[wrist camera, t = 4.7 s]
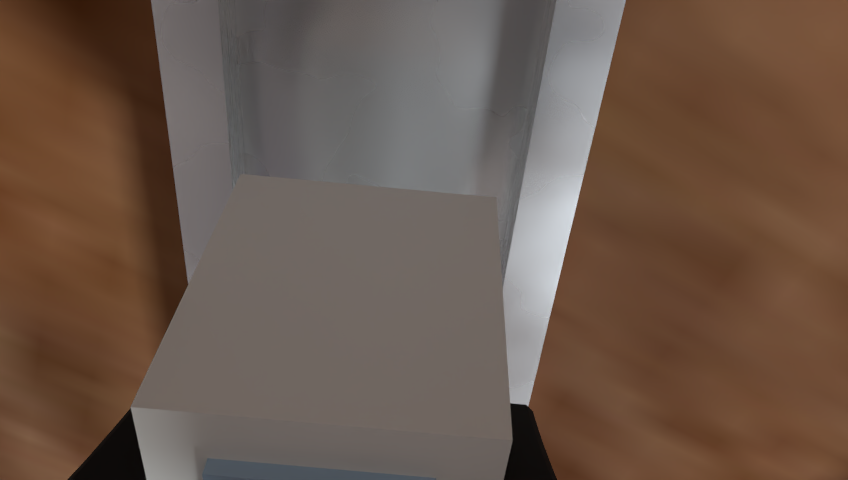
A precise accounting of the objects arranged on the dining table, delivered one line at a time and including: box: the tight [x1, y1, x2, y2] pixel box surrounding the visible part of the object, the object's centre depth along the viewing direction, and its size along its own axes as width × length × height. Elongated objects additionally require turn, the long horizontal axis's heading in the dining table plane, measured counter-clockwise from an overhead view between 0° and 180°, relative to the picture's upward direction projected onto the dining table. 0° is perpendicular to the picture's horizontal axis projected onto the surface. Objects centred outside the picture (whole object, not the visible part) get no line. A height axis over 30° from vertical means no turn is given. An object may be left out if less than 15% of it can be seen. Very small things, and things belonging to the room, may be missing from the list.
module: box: [131, 174, 513, 480], centre depth 11 cm, size 4×5×5 cm
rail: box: [151, 0, 626, 406], centre depth 12 cm, size 7×20×5 cm, turn 175°
